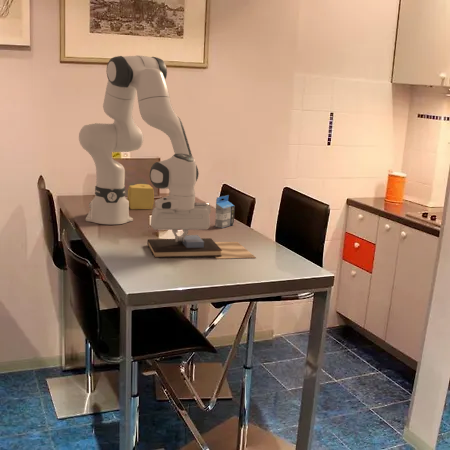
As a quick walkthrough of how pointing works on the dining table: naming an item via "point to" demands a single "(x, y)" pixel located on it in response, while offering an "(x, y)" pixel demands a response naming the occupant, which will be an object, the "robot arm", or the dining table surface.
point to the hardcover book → (182, 249)
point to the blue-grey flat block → (193, 241)
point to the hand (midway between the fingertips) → (179, 241)
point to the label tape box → (224, 212)
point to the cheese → (140, 196)
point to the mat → (233, 251)
